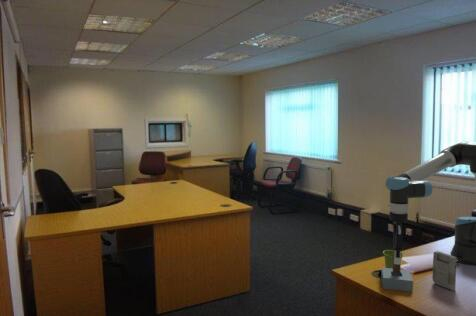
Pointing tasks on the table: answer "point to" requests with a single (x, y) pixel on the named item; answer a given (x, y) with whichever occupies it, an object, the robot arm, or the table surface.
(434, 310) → the table surface
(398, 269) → the pin
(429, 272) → the table surface
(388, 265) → the plant pot
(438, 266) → the handheld gaming console
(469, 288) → the table surface
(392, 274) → the bore block
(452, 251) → the robot arm
